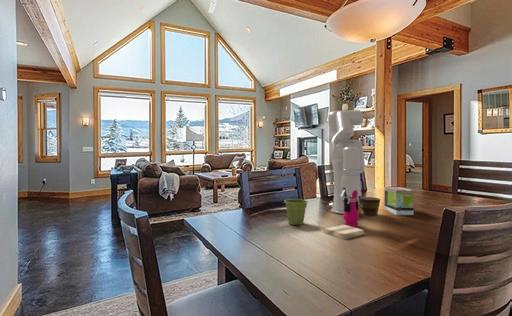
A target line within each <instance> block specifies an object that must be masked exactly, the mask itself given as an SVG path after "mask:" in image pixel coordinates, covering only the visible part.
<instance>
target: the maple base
mask: <svg viewBox="0 0 512 316" xmlns="http://www.w3.org/2000/svg"><path fill="white" fill-rule="evenodd" d="M322 233H324V234H327V235H329V236H334V237H336V238H340V239H344V240H348V239H351V238H352V239H353V238H356V237H359V236H363V235H365V229H362V228H358V227H356V228H355V227H351V226H347V225H344V224H342V223H340V224H336V225H331V226H326V227H323V231H322Z"/></svg>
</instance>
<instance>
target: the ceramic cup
mask: <svg viewBox="0 0 512 316" xmlns="http://www.w3.org/2000/svg"><path fill="white" fill-rule="evenodd" d="M380 202H381V198H379V197H374V196H372V197H371V196H369V197H368V196H361V197H360V199H359V203H360V204H361V205H359V204H358V208H360V209H361V211H362V214H363V215H364V216H366V217H377V216H378V213H379V207H380Z"/></svg>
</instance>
